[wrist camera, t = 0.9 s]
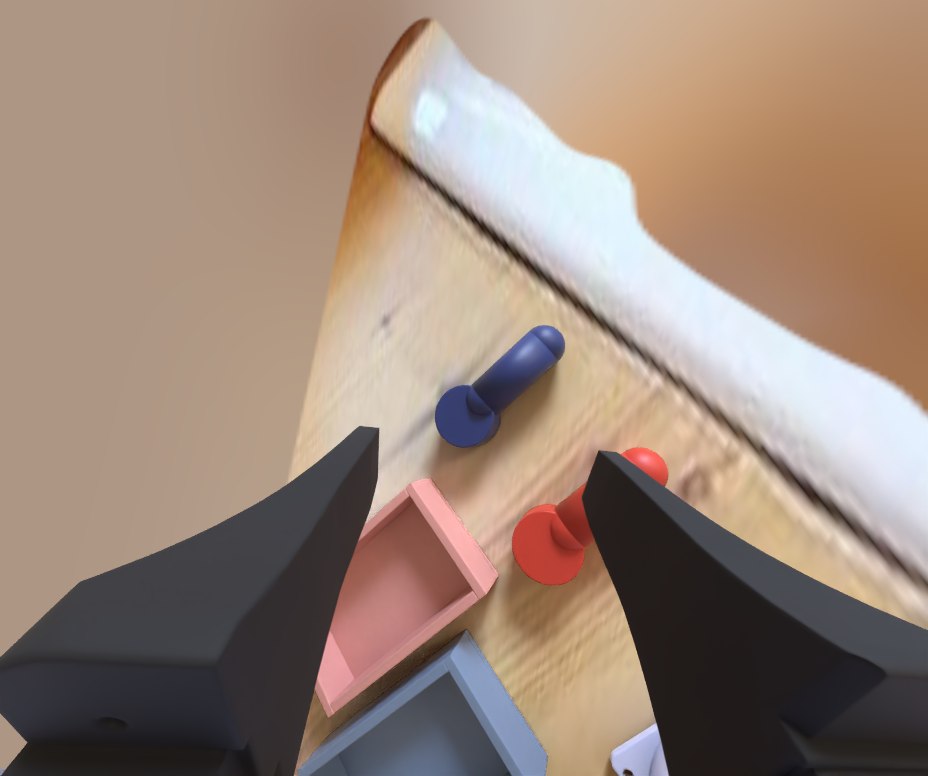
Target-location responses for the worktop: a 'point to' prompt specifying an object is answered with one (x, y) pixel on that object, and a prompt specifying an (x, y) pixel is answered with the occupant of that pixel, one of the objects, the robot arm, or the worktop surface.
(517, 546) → the red rubber stamp
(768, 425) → the worktop surface
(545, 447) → the worktop surface
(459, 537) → the red bin
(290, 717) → the robot arm
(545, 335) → the blue handle
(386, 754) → the blue bin
